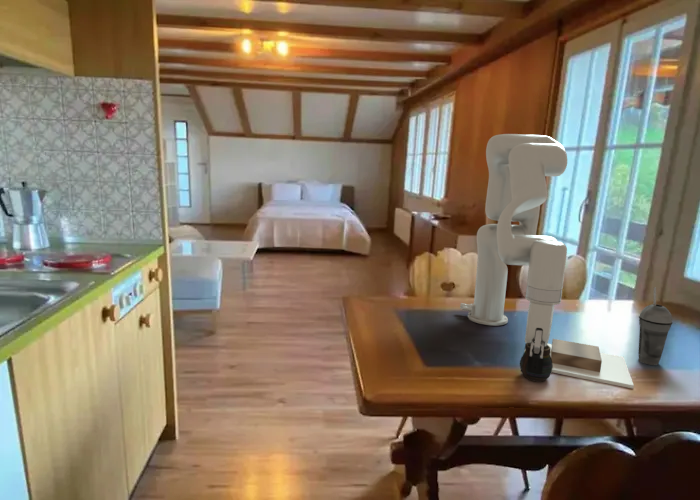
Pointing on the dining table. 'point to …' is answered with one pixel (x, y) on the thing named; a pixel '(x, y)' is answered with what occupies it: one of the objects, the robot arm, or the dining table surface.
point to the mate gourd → (546, 364)
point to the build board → (610, 371)
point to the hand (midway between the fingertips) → (535, 365)
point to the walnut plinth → (576, 355)
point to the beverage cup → (653, 332)
